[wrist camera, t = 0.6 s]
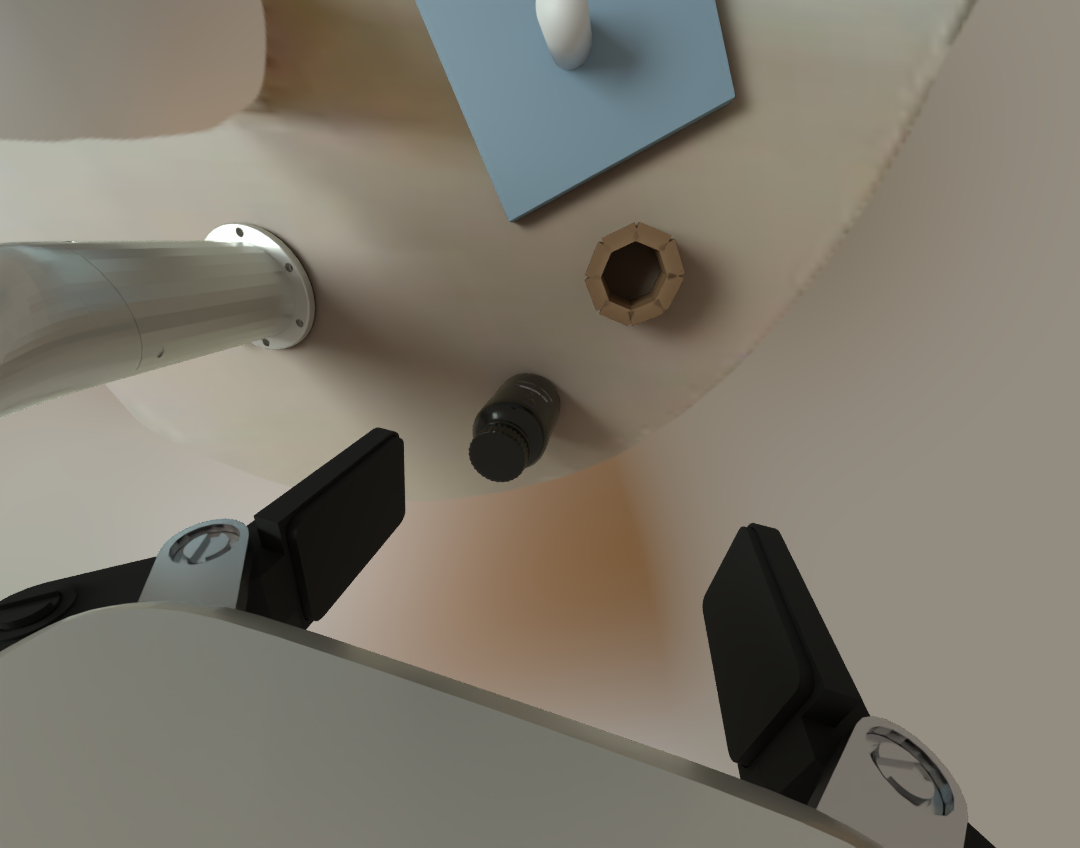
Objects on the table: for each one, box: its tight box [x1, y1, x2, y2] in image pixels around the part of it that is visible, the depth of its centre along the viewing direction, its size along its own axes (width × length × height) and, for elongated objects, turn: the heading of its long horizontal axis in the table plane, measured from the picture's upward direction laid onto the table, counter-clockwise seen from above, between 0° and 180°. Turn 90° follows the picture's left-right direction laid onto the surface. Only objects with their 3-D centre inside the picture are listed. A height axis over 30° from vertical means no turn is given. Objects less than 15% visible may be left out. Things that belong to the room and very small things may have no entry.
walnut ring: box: [585, 222, 685, 326], centre depth 31 cm, size 7×7×5 cm
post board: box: [415, 0, 735, 222], centre depth 25 cm, size 18×16×6 cm
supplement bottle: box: [469, 373, 560, 482], centre depth 35 cm, size 7×7×12 cm
